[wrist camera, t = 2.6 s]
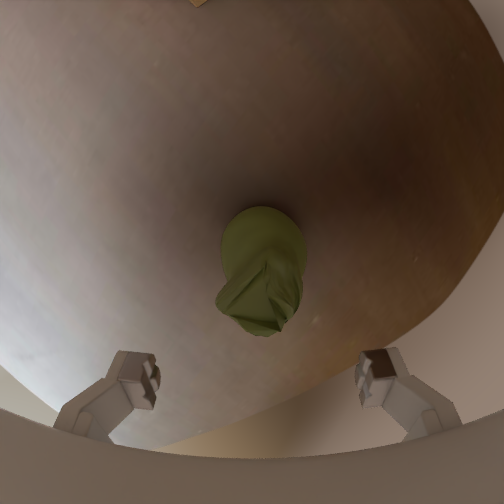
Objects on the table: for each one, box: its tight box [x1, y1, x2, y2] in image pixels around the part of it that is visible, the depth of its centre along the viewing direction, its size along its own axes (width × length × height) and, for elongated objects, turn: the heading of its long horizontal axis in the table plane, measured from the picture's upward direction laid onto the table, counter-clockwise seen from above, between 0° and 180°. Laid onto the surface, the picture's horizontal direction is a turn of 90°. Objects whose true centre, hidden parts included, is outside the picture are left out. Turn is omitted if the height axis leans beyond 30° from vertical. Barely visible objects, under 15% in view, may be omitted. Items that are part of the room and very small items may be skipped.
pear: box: [215, 206, 307, 337], centre depth 19 cm, size 6×5×10 cm
